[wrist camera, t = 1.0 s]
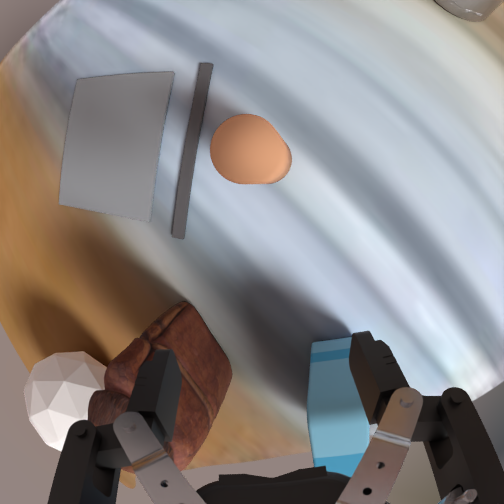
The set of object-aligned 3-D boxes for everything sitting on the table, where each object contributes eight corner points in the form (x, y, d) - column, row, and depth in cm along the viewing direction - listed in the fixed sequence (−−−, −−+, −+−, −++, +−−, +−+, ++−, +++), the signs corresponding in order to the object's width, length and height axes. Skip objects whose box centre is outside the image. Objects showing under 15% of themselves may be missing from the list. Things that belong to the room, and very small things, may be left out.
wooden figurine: (150, 313, 34) (43, 400, 17) (193, 291, 32) (85, 388, 15) (203, 393, 35) (138, 504, 18) (248, 379, 33) (195, 508, 16)
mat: (81, 72, 29) (79, 72, 29) (213, 64, 27) (212, 63, 26) (60, 211, 34) (58, 211, 33) (184, 238, 31) (182, 239, 31)
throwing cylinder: (246, 131, 28) (216, 110, 19) (295, 139, 27) (286, 119, 18) (238, 179, 29) (204, 178, 20) (287, 188, 28) (273, 190, 19)
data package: (311, 336, 31) (305, 414, 19) (354, 330, 30) (369, 406, 18) (322, 420, 33) (318, 498, 21) (359, 415, 32) (366, 493, 20)
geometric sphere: (108, 369, 45) (29, 395, 35) (99, 315, 36) (-3, 346, 26) (149, 444, 37) (63, 477, 28) (150, 413, 28) (29, 457, 19)
